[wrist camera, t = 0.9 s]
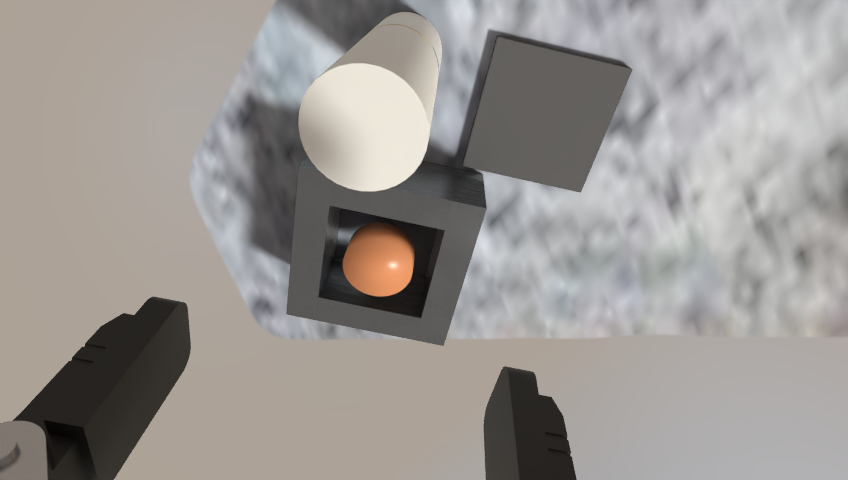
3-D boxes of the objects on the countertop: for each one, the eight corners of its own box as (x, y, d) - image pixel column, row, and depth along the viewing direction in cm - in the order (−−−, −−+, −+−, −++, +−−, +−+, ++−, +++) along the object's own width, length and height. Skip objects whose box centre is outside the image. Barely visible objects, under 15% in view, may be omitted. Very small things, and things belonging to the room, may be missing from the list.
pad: (497, 35, 28) (497, 37, 27) (629, 67, 28) (632, 69, 28) (462, 162, 32) (462, 166, 31) (578, 188, 32) (580, 192, 32)
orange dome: (353, 215, 31) (347, 231, 29) (421, 230, 31) (419, 246, 29) (344, 271, 33) (338, 288, 31) (408, 284, 33) (405, 302, 32)
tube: (354, 45, 29) (271, 121, 16) (409, -6, 27) (366, 31, 14) (402, 102, 30) (360, 213, 17) (456, 57, 29) (455, 142, 16)
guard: (319, 138, 32) (298, 167, 27) (482, 174, 32) (486, 208, 28) (306, 272, 37) (286, 314, 33) (445, 301, 38) (443, 345, 34)
